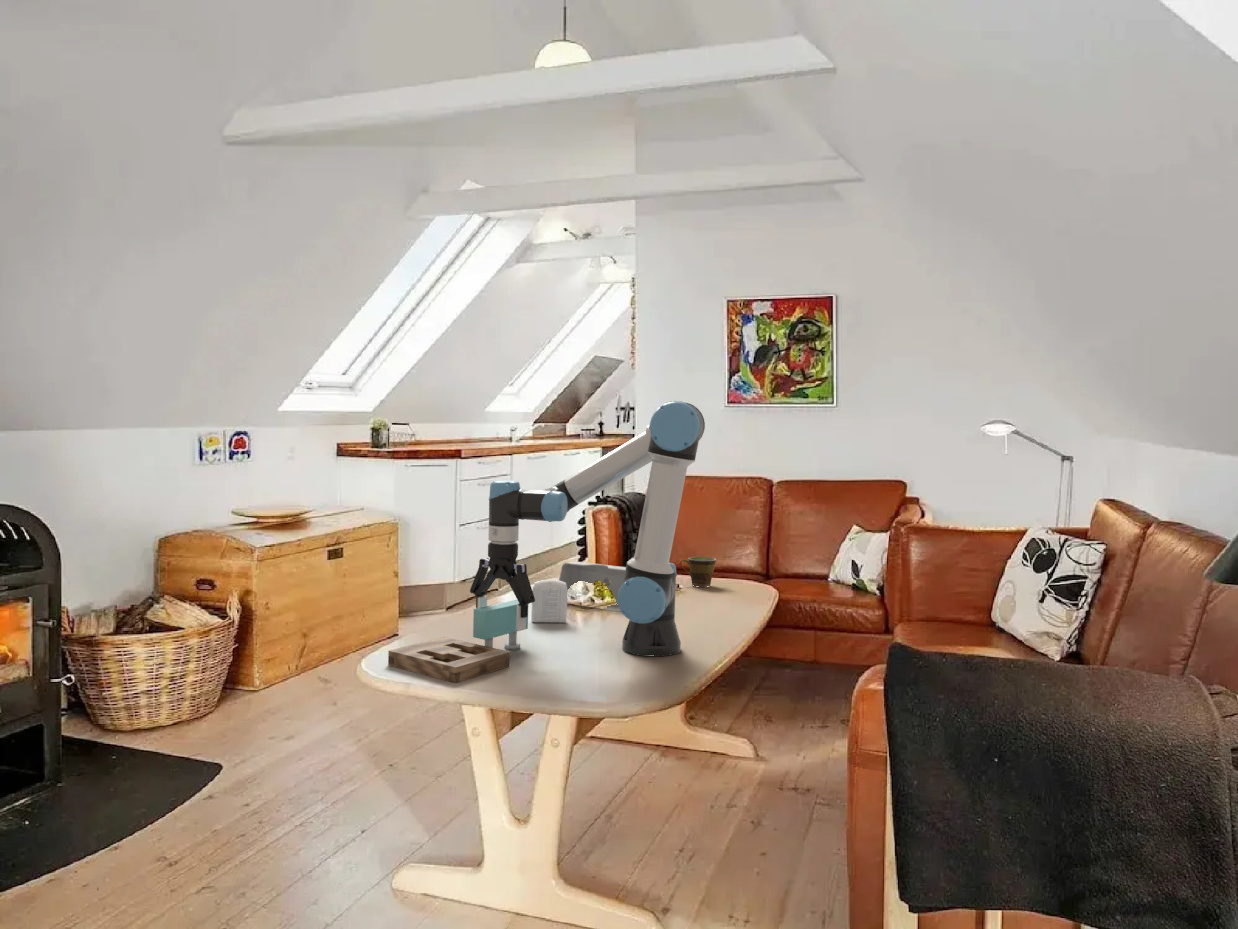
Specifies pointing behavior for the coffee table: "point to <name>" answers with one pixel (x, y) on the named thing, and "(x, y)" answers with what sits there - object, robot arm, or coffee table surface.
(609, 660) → the coffee table surface
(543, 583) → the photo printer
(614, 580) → the grey storage bin
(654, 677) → the coffee table surface
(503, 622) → the block with headed pegs
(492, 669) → the keyhole board
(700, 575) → the ceramic cup
